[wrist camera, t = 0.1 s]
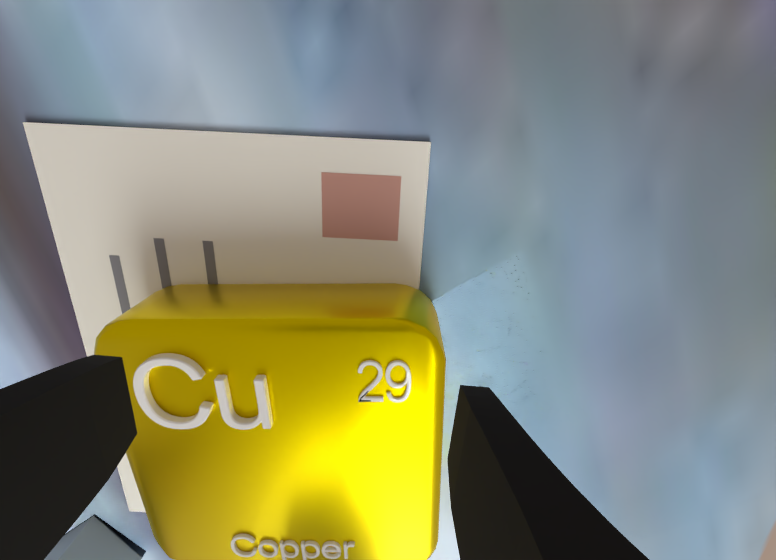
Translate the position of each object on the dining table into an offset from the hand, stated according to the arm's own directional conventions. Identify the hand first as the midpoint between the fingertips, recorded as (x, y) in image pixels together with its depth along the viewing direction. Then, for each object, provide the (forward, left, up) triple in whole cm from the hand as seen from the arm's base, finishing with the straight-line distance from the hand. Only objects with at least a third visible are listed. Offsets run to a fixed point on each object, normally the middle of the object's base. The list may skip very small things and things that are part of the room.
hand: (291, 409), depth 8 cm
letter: (-7, +6, -11) cm, 14 cm away
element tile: (-9, +3, -11) cm, 15 cm away
